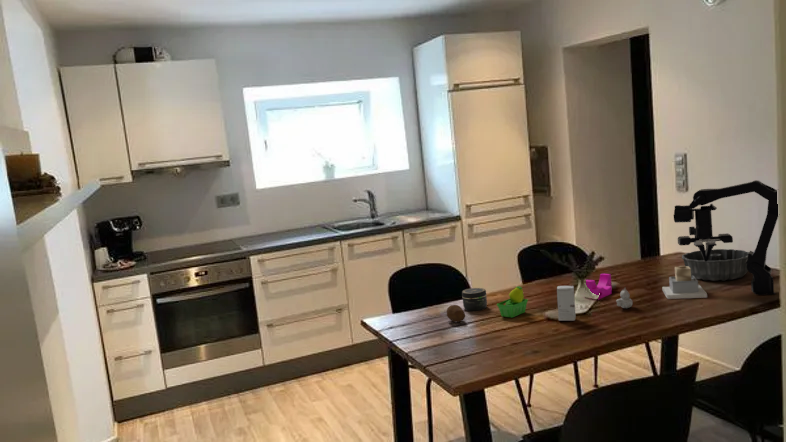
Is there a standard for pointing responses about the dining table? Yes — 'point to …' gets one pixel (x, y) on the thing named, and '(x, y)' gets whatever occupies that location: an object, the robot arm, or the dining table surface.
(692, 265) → the bundt pan
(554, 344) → the dining table surface
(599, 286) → the toy block
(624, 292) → the rubber duck
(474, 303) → the jar
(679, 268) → the snap block
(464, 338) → the dining table surface
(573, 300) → the skincare box
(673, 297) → the grey square base plate
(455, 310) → the potato
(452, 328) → the dining table surface
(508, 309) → the fruit basket
